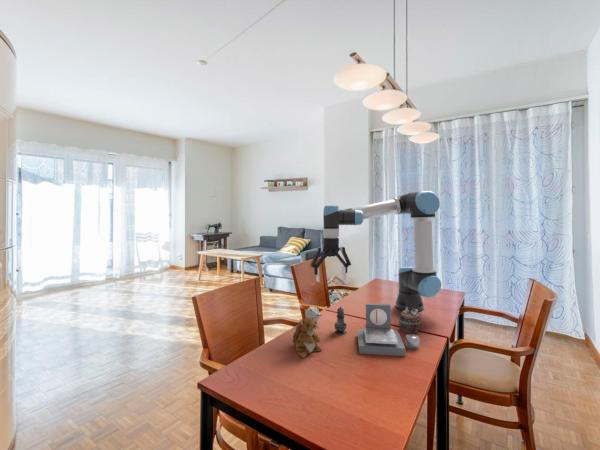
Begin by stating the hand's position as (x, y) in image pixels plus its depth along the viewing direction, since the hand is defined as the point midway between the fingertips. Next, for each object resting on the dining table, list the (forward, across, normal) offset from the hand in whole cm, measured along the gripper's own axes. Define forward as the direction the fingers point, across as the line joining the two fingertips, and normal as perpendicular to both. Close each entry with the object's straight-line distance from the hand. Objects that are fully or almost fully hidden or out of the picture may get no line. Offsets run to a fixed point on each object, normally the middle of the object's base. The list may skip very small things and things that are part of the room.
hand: (330, 280), depth 142 cm
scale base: (+21, -11, +28) cm, 36 cm away
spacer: (+21, -23, +32) cm, 45 cm away
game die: (+21, +8, -3) cm, 23 cm away
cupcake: (+21, -32, +17) cm, 42 cm away
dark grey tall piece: (+21, 0, +11) cm, 24 cm away
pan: (+18, -10, +29) cm, 36 cm away
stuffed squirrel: (+22, +20, +22) cm, 37 cm away
